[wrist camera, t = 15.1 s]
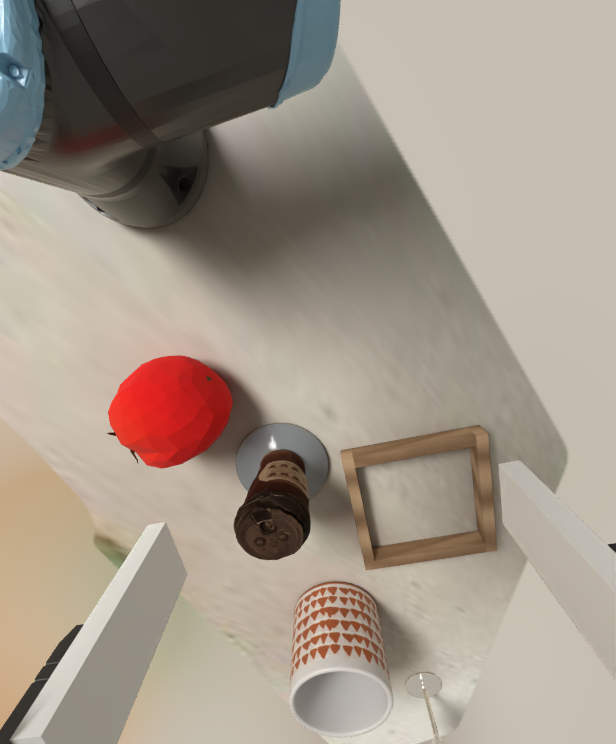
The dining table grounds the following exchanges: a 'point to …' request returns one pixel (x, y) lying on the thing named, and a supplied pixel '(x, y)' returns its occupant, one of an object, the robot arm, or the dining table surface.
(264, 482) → the coffee cup
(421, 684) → the wineglass
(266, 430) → the flat grey disc
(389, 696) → the planter
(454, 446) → the square wooden frame
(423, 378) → the dining table surface
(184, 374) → the tomato
